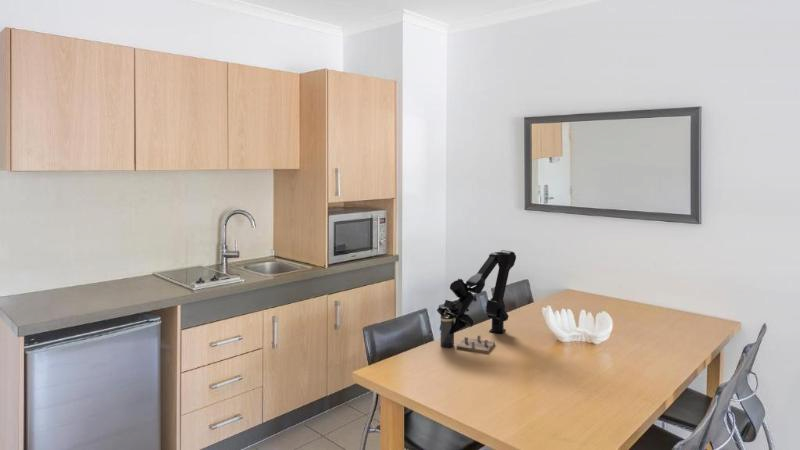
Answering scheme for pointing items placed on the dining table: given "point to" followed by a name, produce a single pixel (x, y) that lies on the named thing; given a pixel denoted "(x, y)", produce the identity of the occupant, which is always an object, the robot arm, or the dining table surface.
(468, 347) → the peg board
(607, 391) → the dining table surface
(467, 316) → the robot arm
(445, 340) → the tea tin
